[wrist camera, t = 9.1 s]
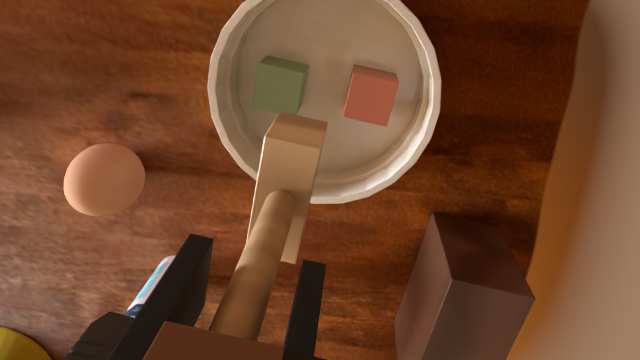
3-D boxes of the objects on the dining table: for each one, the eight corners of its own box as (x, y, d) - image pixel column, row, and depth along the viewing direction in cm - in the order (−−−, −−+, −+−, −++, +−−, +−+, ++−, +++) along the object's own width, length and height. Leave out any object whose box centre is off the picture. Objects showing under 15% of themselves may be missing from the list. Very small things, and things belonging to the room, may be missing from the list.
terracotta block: (396, 73, 43) (399, 82, 40) (385, 115, 45) (386, 127, 41) (354, 64, 43) (353, 72, 40) (344, 105, 45) (342, 117, 41)
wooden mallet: (274, 109, 24) (103, 368, 8) (333, 122, 24) (275, 406, 8) (256, 213, 26) (98, 564, 11) (309, 225, 26) (229, 594, 11)
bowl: (460, 0, 41) (474, 4, 36) (399, 196, 49) (403, 224, 43) (242, -50, 41) (223, -55, 35) (215, 154, 49) (196, 177, 43)
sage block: (309, 64, 44) (304, 73, 40) (301, 106, 45) (295, 117, 42) (267, 55, 44) (258, 62, 40) (260, 96, 45) (251, 107, 42)
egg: (134, 122, 48) (86, 152, 40) (169, 178, 50) (131, 217, 42) (82, 148, 50) (27, 181, 42) (119, 201, 52) (73, 243, 44)
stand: (498, 226, 49) (536, 298, 38) (452, 335, 55) (473, 424, 44) (432, 211, 49) (451, 279, 38) (393, 322, 55) (400, 408, 44)
